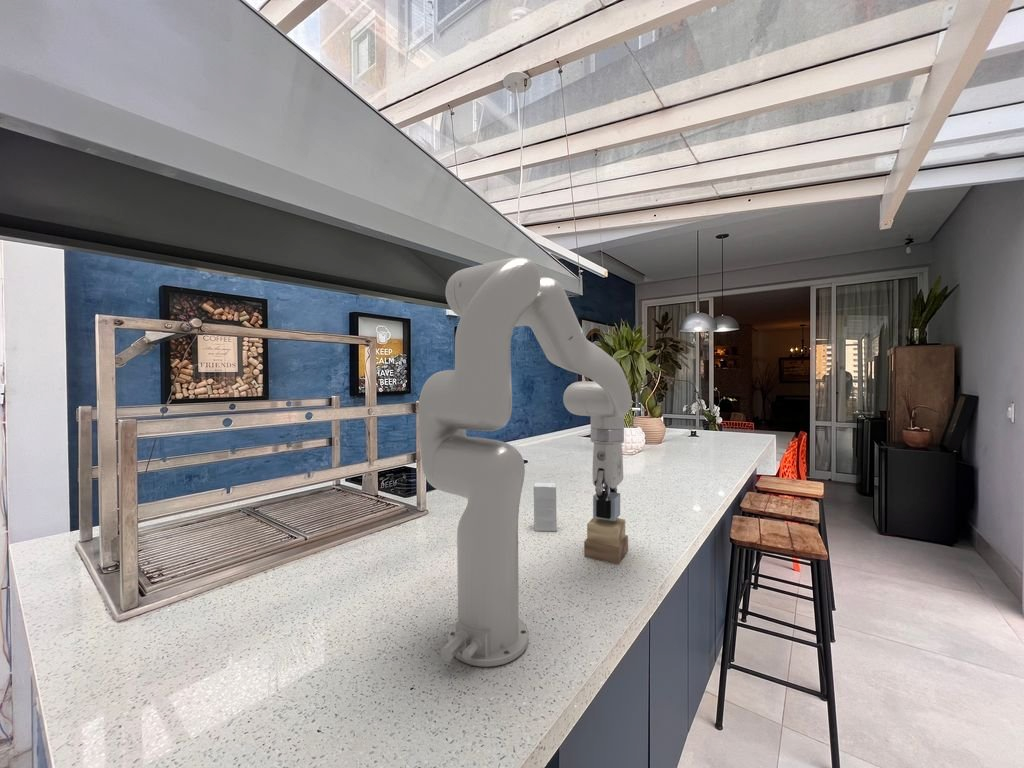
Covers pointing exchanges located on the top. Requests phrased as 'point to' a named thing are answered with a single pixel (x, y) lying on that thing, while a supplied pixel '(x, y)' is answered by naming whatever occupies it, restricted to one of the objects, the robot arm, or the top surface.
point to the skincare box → (545, 507)
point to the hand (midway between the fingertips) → (606, 513)
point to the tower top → (606, 531)
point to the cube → (614, 506)
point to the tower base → (606, 551)
